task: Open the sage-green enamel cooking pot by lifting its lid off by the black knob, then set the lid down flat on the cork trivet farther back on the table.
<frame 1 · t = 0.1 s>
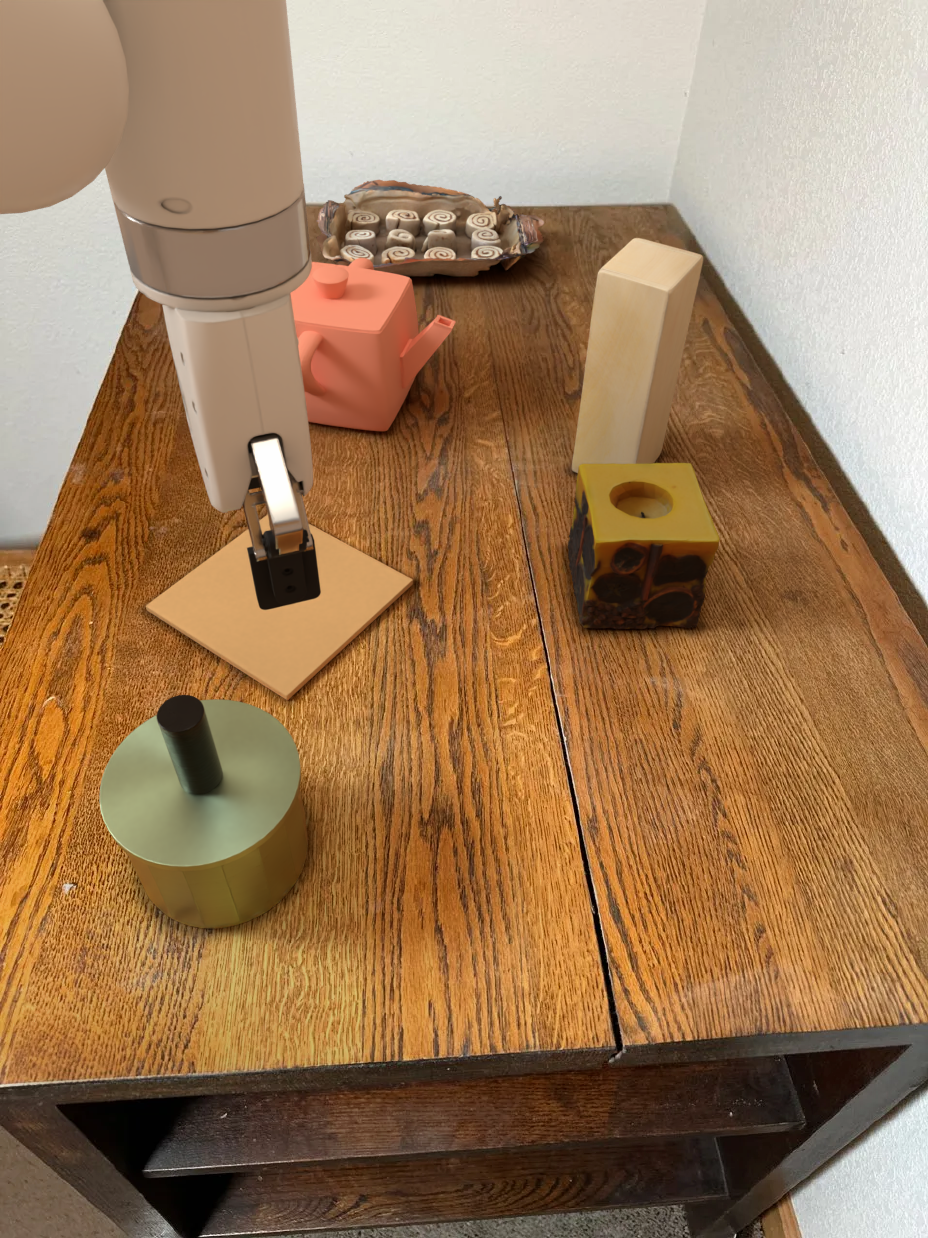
hand: (269, 539, 51), 23 cm above the table, tool pointing down, fingers open, 9 cm apart
teapot: (362, 399, 100), on the table
lid: (203, 782, 57), point 8 cm above the table, touching pot
tall beige wooden block: (612, 462, 94), on the table
pot: (225, 850, 64), on the table
candle: (628, 589, 82), on the table
baking tray: (432, 253, 124), on the table
trivet: (282, 597, 80), on the table
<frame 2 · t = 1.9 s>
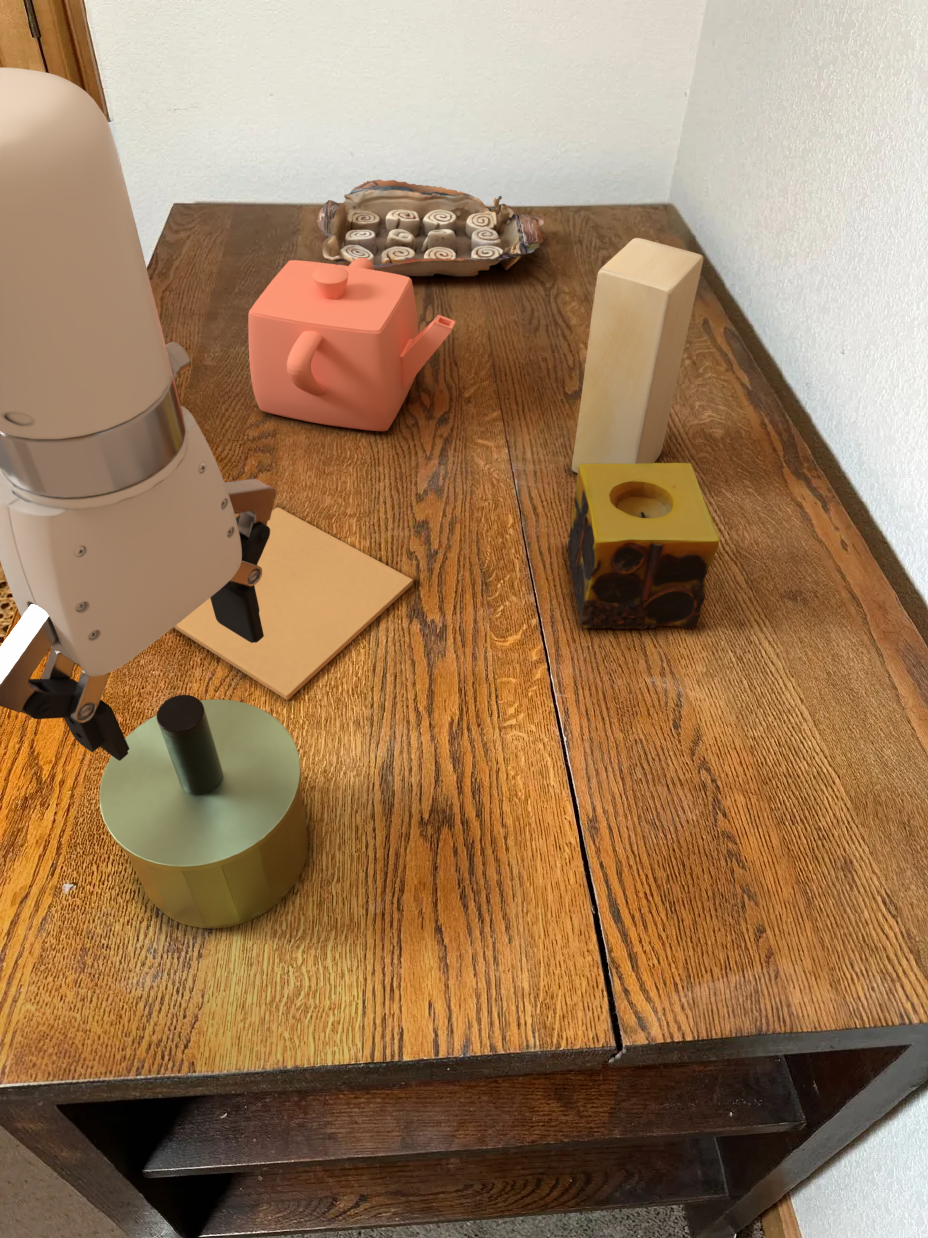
hand: (176, 683, 51), 18 cm above the table, tool pointing down, fingers open, 9 cm apart
nothing on the table moved.
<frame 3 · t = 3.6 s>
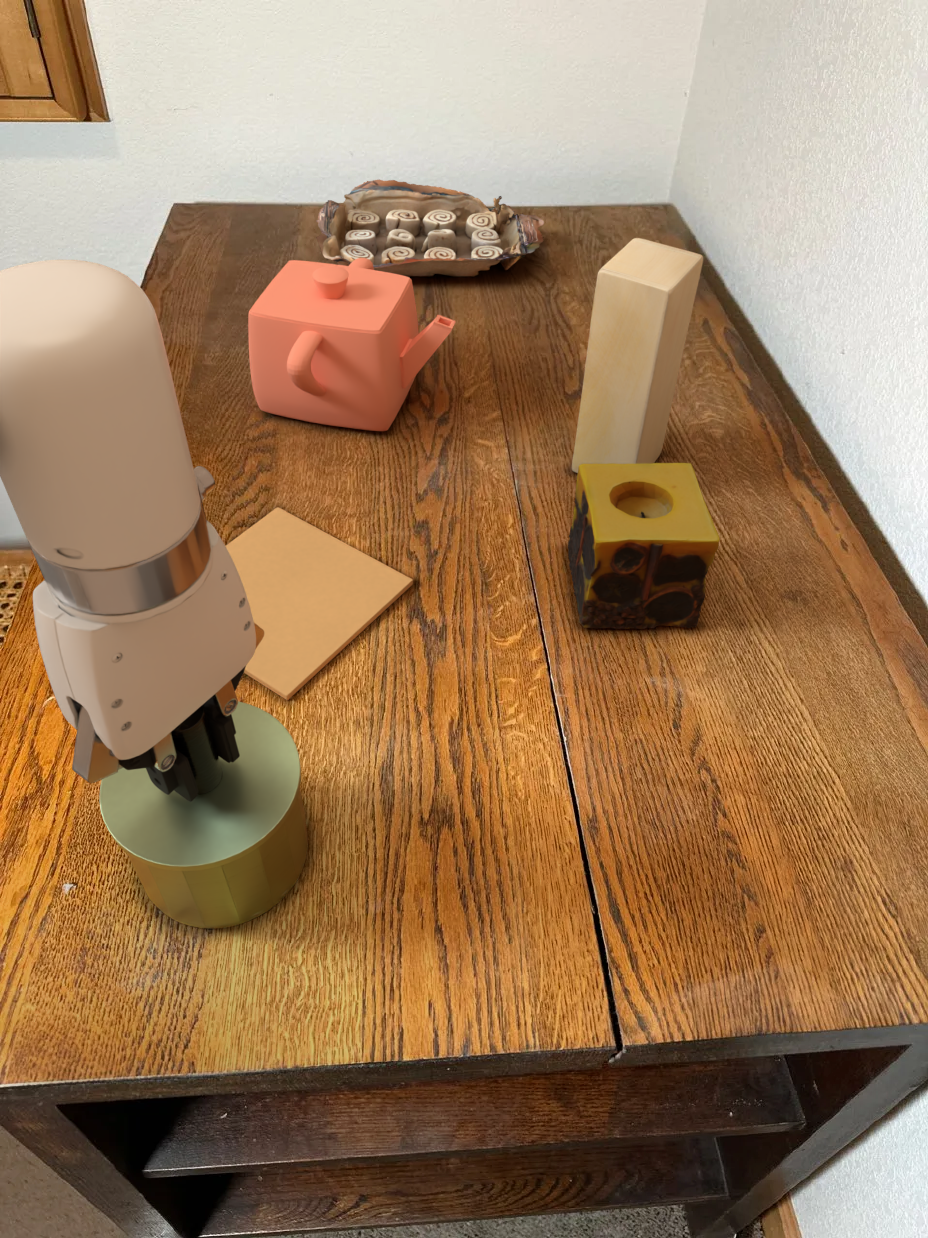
hand: (197, 766, 56), 10 cm above the table, tool pointing down, fingers closed on lid, 2 cm apart
lid: (203, 782, 57), point 9 cm above the table, touching gripper, pot
everything else where it was.
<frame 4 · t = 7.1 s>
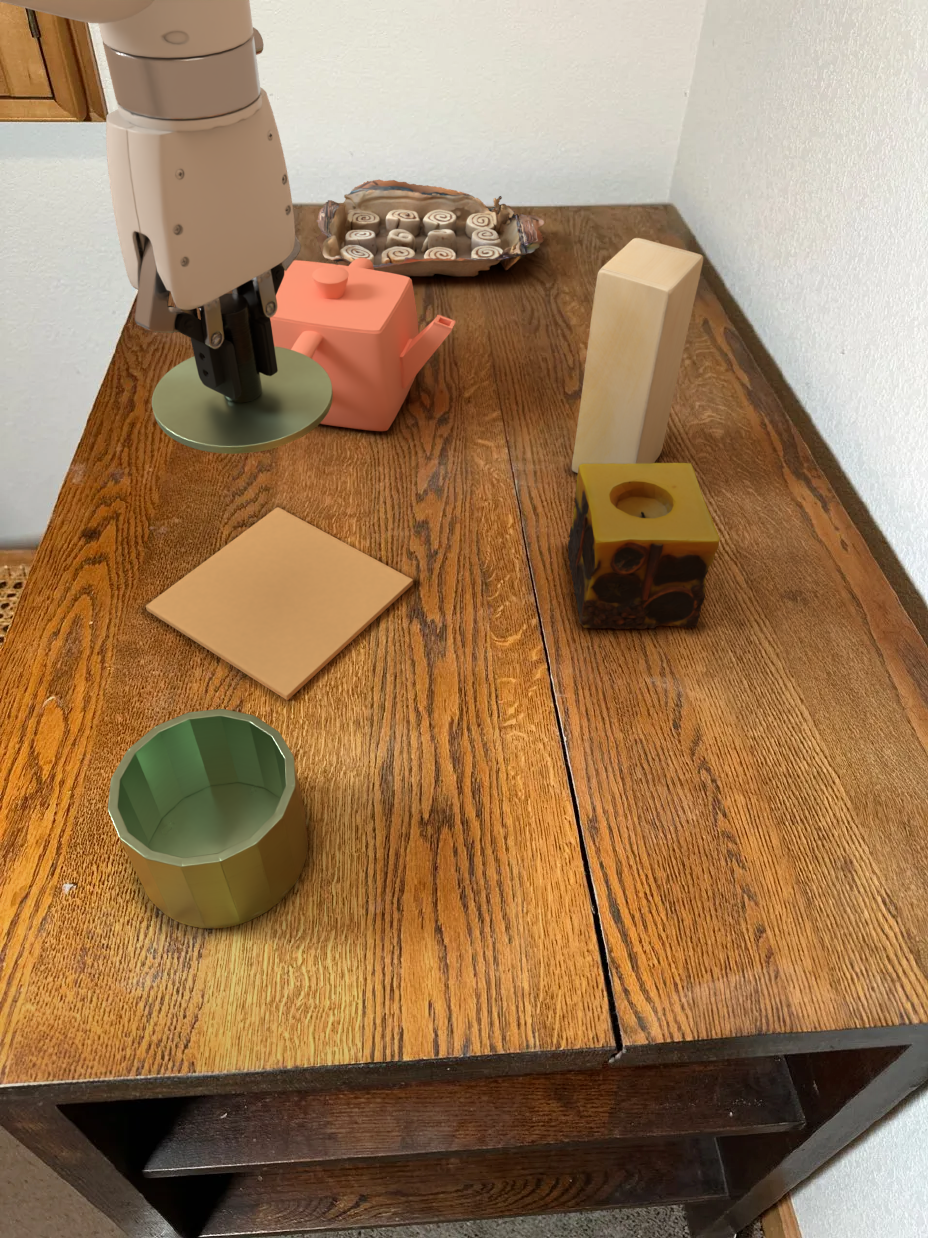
hand: (239, 376, 62), 23 cm above the table, tool pointing down, fingers closed on lid, 2 cm apart
lid: (244, 399, 63), point 21 cm above the table, touching gripper
everything else where it was.
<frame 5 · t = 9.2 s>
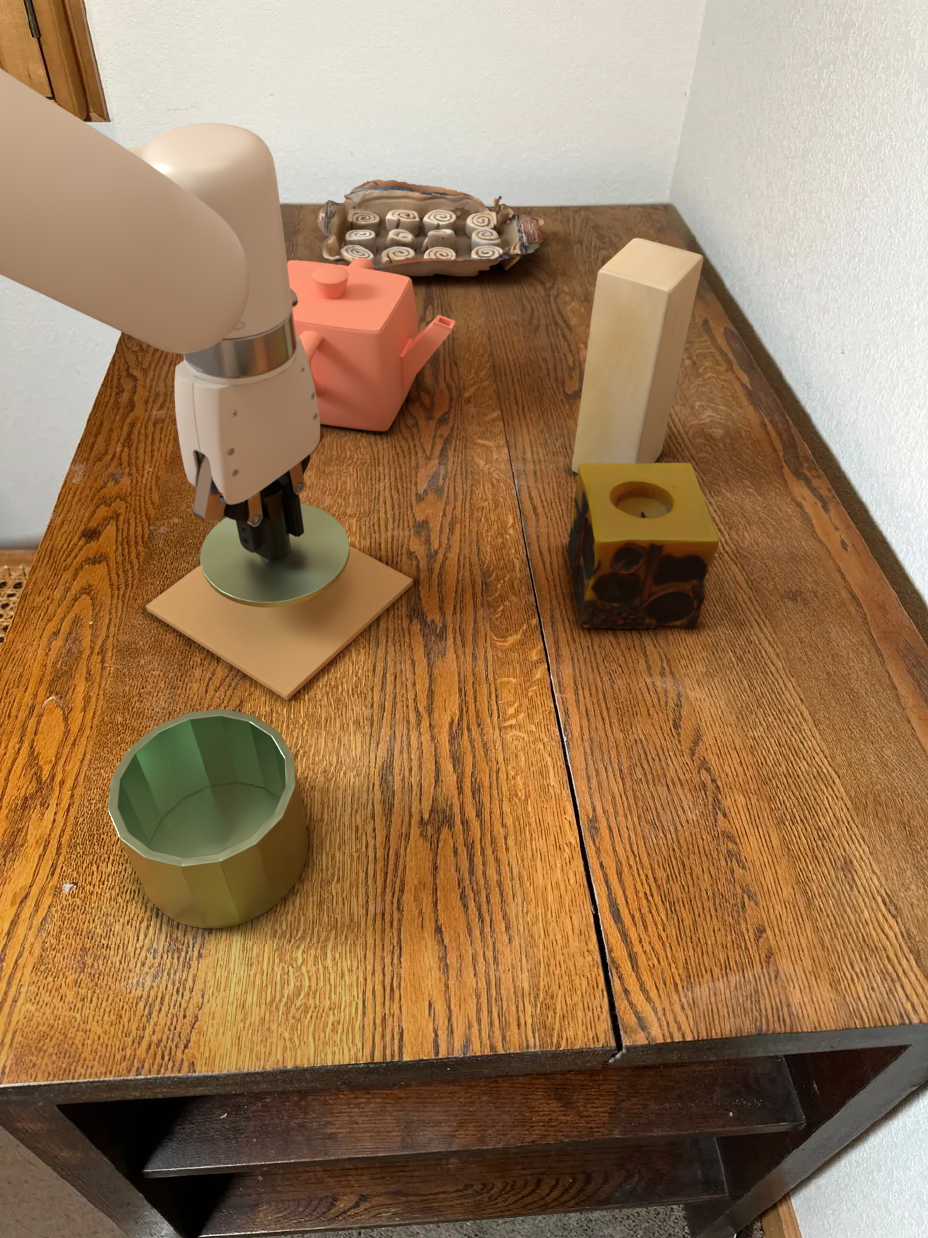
hand: (273, 538, 75), 7 cm above the table, tool pointing down, fingers closed on lid, 2 cm apart
lid: (276, 554, 76), point 5 cm above the table, touching gripper
everything else where it was.
when the fingers open (3 cm above the table, at t = 10.5 s): lid stays where it is, resting on trivet.
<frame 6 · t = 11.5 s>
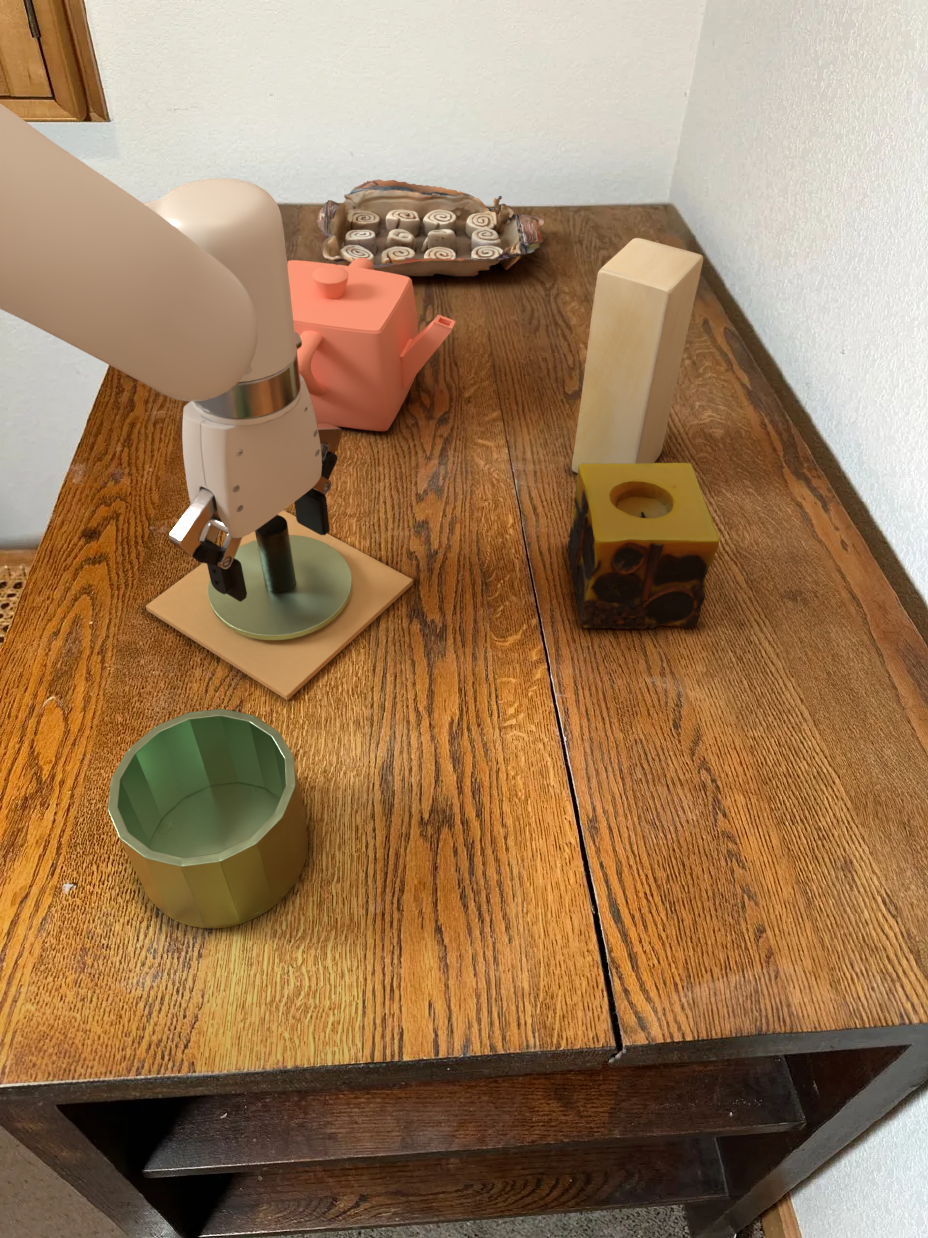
hand: (273, 558, 76), 5 cm above the table, tool pointing down, fingers open, 9 cm apart
lid: (281, 587, 79), point 1 cm above the table, touching trivet
everything else where it was.
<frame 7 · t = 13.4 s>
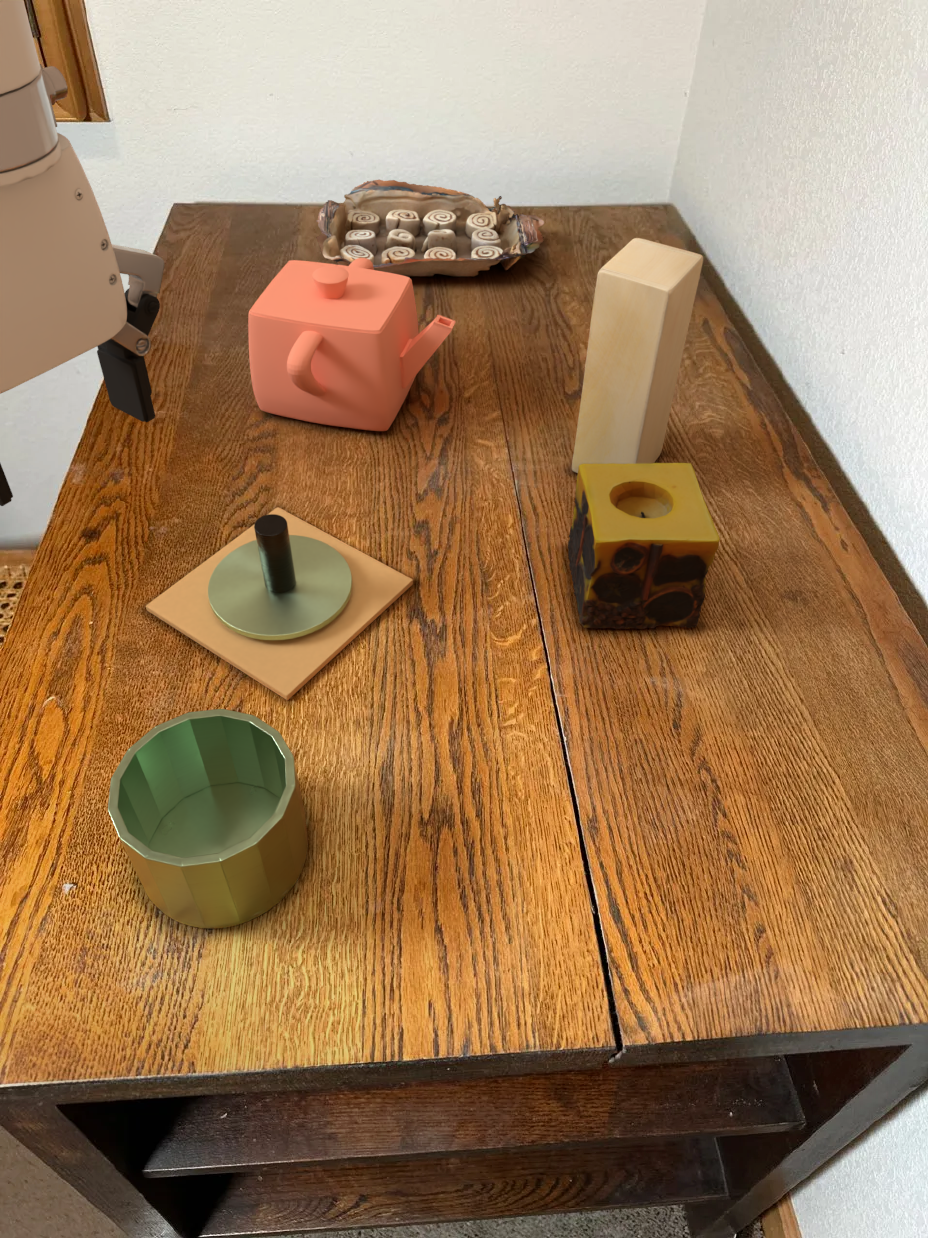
hand: (66, 450, 52), 25 cm above the table, tool pointing down, fingers open, 9 cm apart
nothing on the table moved.
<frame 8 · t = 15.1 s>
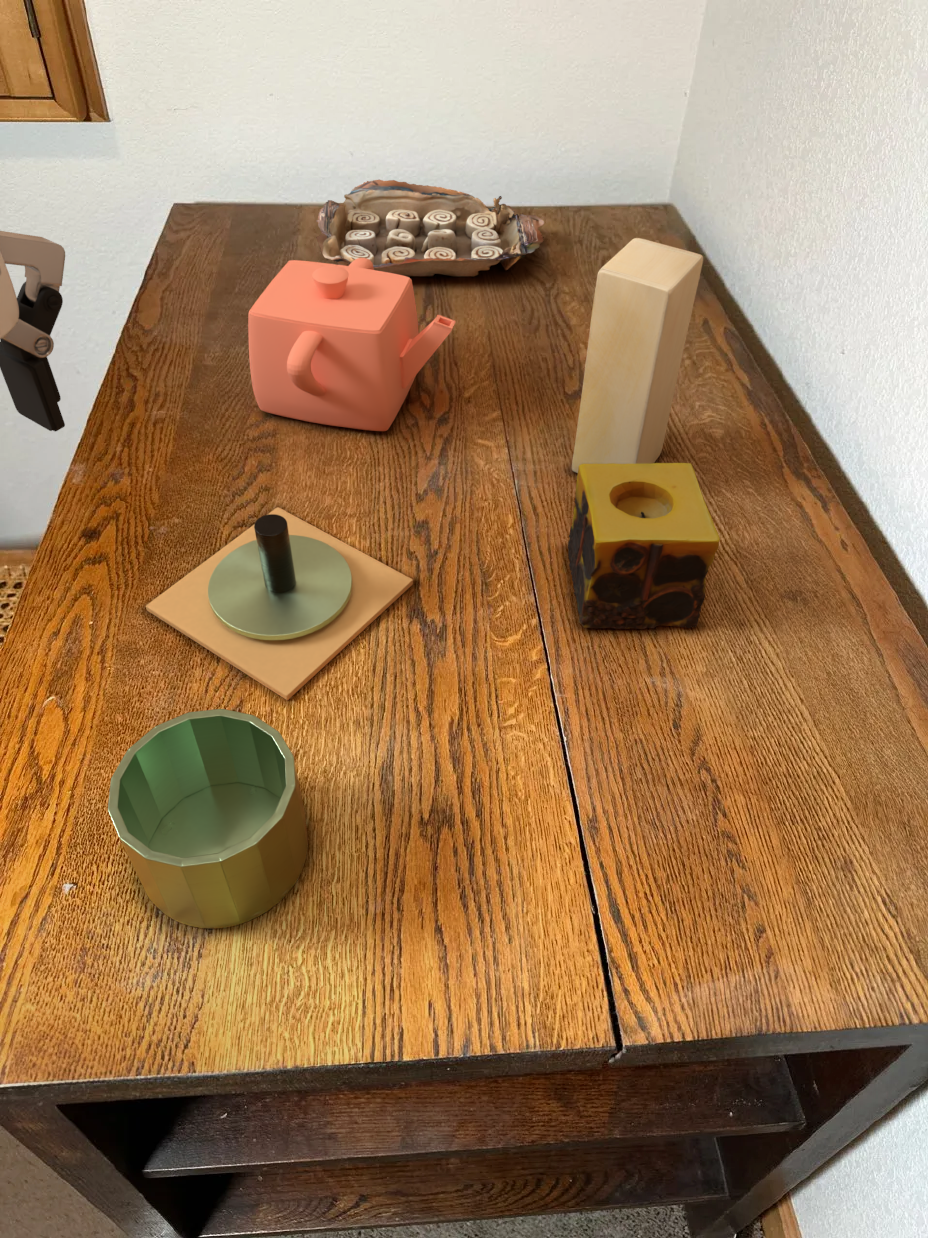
nothing on the table moved.
at the end: lid 0.0 cm off-centre on the trivet, point 1.2 cm above the trivet's base; lid point 1.2 cm above the table; lid tilted 0° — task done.
